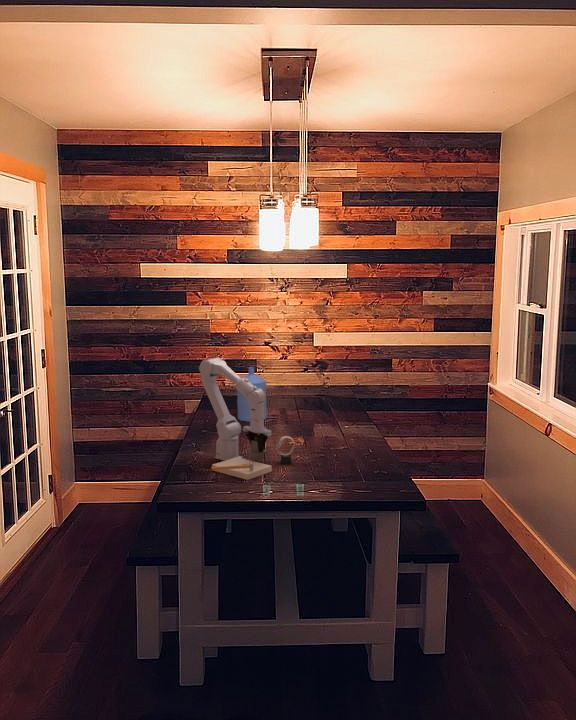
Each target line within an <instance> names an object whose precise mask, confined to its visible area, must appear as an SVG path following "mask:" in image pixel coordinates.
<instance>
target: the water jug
mask: <svg viewBox="0 0 576 720" xmlns="http://www.w3.org/2000/svg"><path fill="white" fill-rule="evenodd" d="M247 369H248V370H247V371H248V374H247V375H246V376H243V378H245V379H248V380H249V382H250V383H251V384H252V385H254V386H256V387H257V388H258V389H259V388H261V389H263V390H264V391H265V393H266V394H267V380H266V379H264V378H262V377H260V376H258V375H255V367H254V366H249V367H248V368H247ZM236 391H237V392H236V393H237V398H236V400H237V401H236V403H237V420H239V421H240V422H244V421H245V422H246V423H250V407H249V403H248V401H247V397H245V396H244V395H243V394H242V393H241V392H239V391H238V390H237V389H236ZM267 403H268V402H267V398H266V399H265V401H264V421H265V420H267V418H268V414H267Z"/></svg>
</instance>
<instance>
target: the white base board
mask: <svg viewBox="0 0 576 720" xmlns="http://www.w3.org/2000/svg"><path fill="white" fill-rule="evenodd" d="M249 463H254V469H253V470H250V469H249V468H240V469H224V470H212V471H215V472H216V473H222V474H225V475H228V476H232V477H235V478H239V479H241V480H242V479H243V480H246V481H249V480H251V479H255V478H257V477H260V476H263V475H265V474H269V473H271V472H272V471H273V468H272V467H273V466H272V465H270V464H267V463H266V464H265V463H261V462H257V461H255V460H250V459H246V458H238V457H235V458H232V459H229V460H226V461H224V460H221V461H220V462H217V463H213V464H211V468H212V467H221V466H236V465H249Z"/></svg>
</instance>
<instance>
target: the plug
mask: <svg viewBox="0 0 576 720" xmlns="http://www.w3.org/2000/svg"><path fill="white" fill-rule="evenodd" d="M250 448H251V449H250V450H247V454H249V455H251V460H252V461H256V462H257V461H262V460H264V459H265V454H268V453H269V452H268V450H267V449H264V451H261V452H259V448H258V440H257V437H256V436H255V437H254V440H251V445H250Z"/></svg>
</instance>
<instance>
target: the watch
mask: <svg viewBox="0 0 576 720" xmlns="http://www.w3.org/2000/svg"><path fill="white" fill-rule="evenodd" d="M285 439H289V440H291V441H292V448H291V449H290V451H289V452H285V453H283V452H281V451H280V450H279V449H280V448H281V446H282V445H283V443H284V440H285ZM295 447H296V445H295V440H294V439H293V437H291V436H288V435H284V436H281V437H279V440H278V441H277V443H276V445H275V448H276V451H277V453H278V454H279V455H280V465H292V454H293V452H294V450H295Z"/></svg>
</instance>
